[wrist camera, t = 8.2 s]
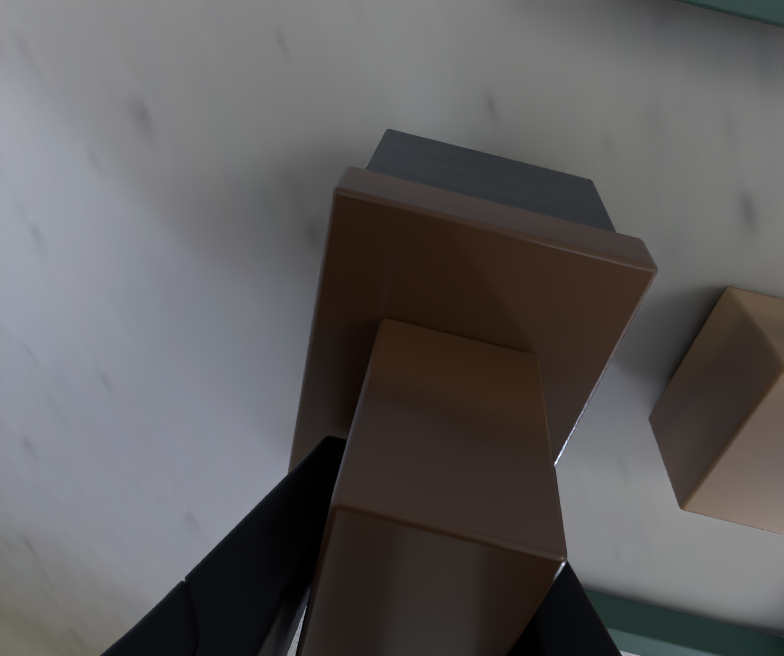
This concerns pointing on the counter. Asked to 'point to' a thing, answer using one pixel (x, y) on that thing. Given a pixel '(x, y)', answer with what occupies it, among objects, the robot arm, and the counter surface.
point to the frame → (660, 626)
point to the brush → (453, 391)
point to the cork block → (729, 415)
